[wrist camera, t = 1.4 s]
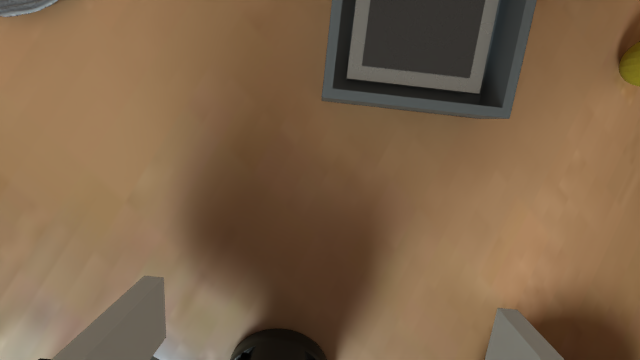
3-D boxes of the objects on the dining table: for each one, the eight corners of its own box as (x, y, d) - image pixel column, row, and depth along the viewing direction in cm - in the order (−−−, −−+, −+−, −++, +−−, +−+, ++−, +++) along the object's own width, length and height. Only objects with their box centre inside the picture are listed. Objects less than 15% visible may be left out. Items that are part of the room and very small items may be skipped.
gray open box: (480, 118, 38) (512, 118, 31) (321, 100, 37) (321, 96, 31) (518, -65, 34) (565, -109, 27) (341, -87, 33) (346, -137, 27)
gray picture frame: (474, 94, 35) (480, 93, 34) (345, 79, 34) (346, 78, 33) (504, -53, 32) (512, -59, 31) (363, -70, 31) (365, -78, 30)
